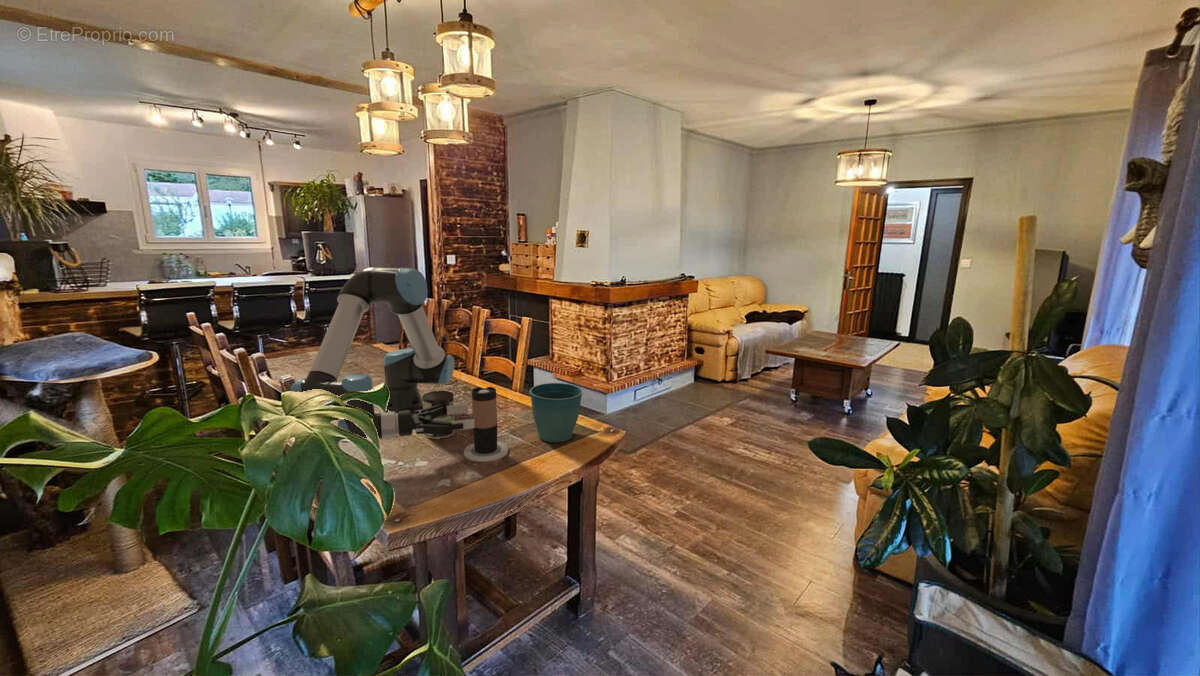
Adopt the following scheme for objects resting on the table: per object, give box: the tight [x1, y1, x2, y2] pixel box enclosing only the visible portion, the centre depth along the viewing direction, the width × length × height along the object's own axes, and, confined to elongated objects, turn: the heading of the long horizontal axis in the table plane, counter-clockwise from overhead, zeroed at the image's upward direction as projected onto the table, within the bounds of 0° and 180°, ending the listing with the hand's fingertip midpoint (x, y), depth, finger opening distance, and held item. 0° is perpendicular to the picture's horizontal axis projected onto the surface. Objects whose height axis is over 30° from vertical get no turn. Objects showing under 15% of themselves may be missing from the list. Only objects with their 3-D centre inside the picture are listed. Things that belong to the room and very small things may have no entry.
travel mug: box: [471, 386, 498, 454], centre depth 151 cm, size 8×8×20 cm
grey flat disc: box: [463, 440, 509, 463], centre depth 153 cm, size 14×14×1 cm
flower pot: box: [529, 382, 583, 443], centre depth 166 cm, size 18×18×17 cm
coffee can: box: [421, 390, 456, 440], centre depth 165 cm, size 10×10×14 cm
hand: (471, 415), depth 149 cm, fingers open, 13 cm apart
